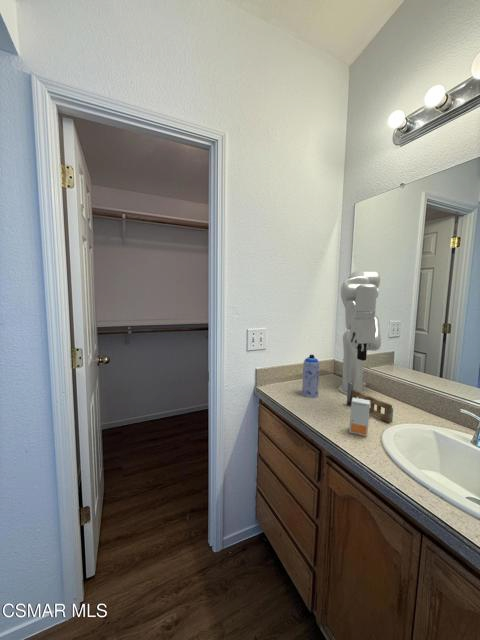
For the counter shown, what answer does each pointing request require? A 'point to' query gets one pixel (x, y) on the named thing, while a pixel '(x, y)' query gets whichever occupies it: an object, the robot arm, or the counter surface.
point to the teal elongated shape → (349, 397)
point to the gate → (375, 402)
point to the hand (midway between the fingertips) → (361, 359)
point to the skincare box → (359, 416)
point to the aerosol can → (310, 377)
